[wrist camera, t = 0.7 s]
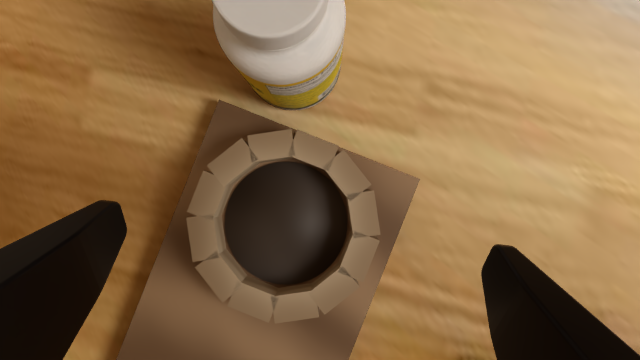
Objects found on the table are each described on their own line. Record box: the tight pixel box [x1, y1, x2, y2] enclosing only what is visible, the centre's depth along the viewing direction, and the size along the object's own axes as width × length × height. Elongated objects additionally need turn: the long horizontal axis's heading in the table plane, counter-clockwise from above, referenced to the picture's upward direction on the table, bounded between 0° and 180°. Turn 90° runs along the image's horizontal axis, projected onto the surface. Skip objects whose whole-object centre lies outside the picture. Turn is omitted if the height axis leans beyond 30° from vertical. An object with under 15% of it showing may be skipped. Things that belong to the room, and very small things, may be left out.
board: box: [116, 100, 420, 360], centre depth 21 cm, size 18×12×2 cm, turn 158°
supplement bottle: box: [212, 0, 346, 110], centre depth 17 cm, size 5×5×10 cm
